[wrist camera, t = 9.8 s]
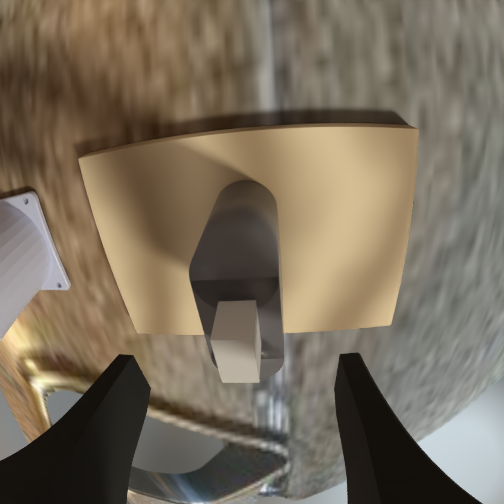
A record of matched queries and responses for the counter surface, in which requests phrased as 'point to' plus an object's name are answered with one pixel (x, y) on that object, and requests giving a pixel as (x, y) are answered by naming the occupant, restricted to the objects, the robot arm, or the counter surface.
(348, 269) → the birch board
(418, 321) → the counter surface
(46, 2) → the counter surface
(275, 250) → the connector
